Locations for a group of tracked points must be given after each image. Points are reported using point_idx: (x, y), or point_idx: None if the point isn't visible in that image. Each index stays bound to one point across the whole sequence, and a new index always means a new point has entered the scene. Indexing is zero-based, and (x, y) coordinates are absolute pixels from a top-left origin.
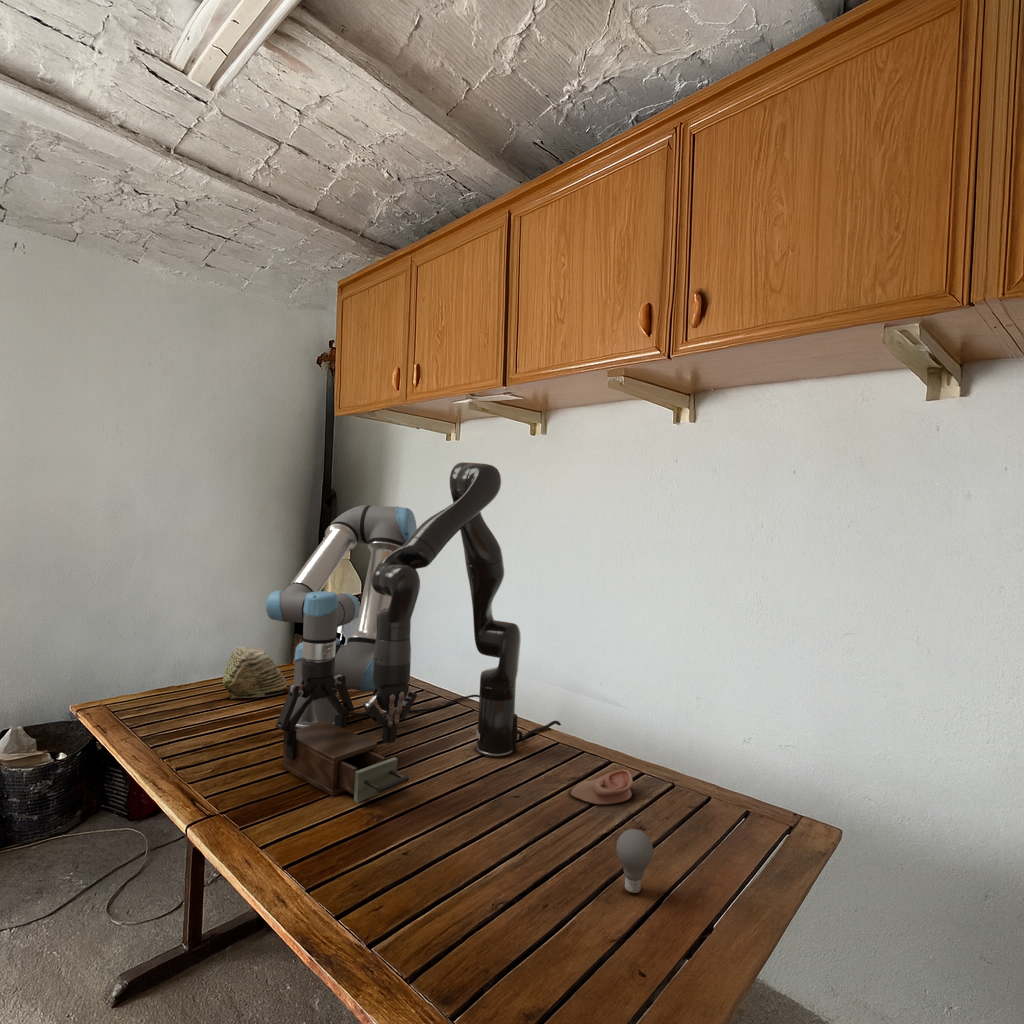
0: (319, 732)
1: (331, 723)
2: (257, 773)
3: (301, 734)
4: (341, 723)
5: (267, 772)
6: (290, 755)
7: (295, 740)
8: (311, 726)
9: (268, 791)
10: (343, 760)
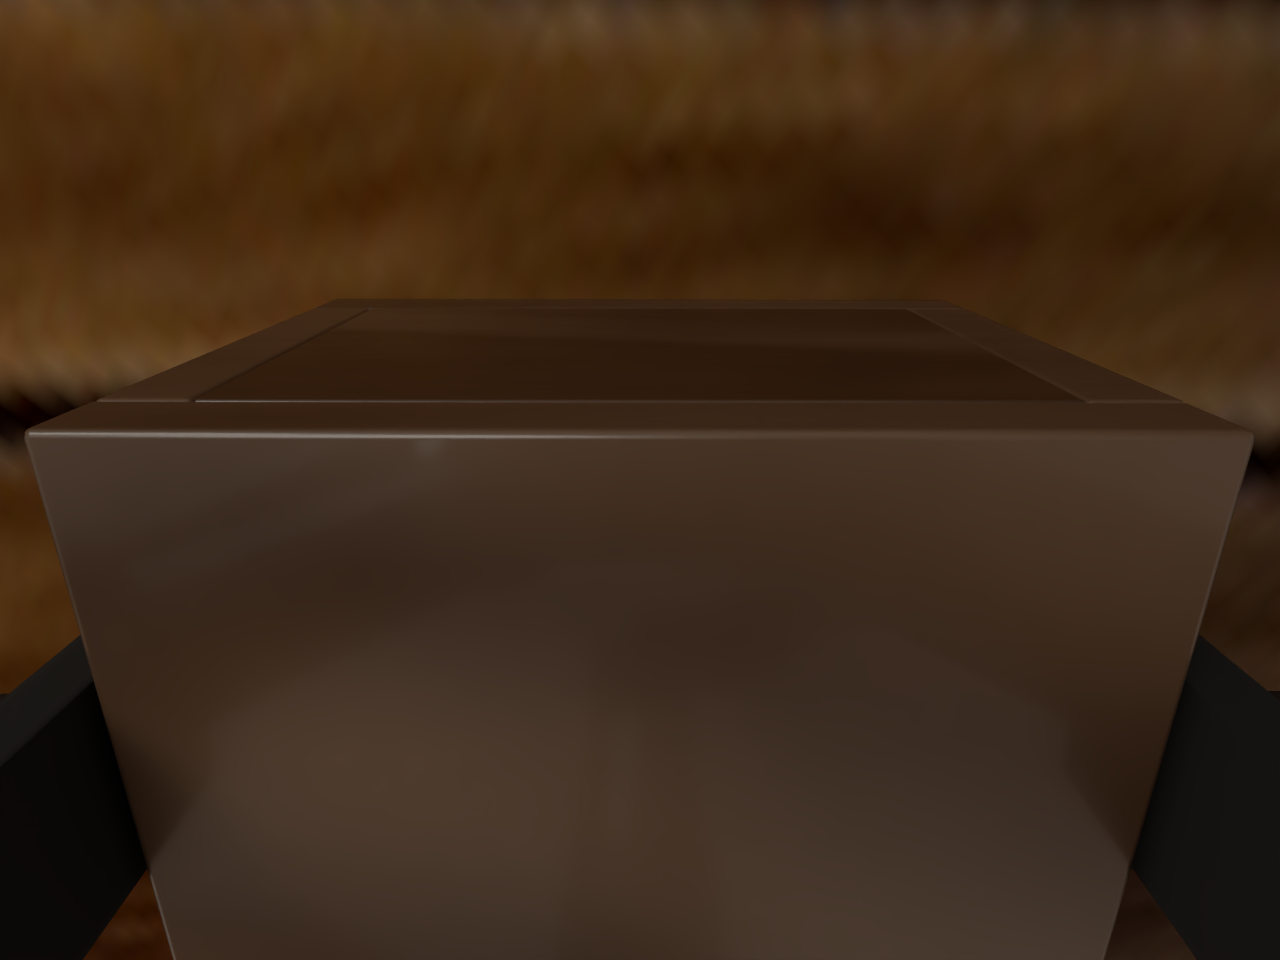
0: (656, 872)
1: (1174, 655)
2: (29, 228)
3: (324, 753)
4: (1192, 949)
5: (142, 288)
6: None
7: (119, 883)
8: (742, 517)
9: (23, 677)
10: None
